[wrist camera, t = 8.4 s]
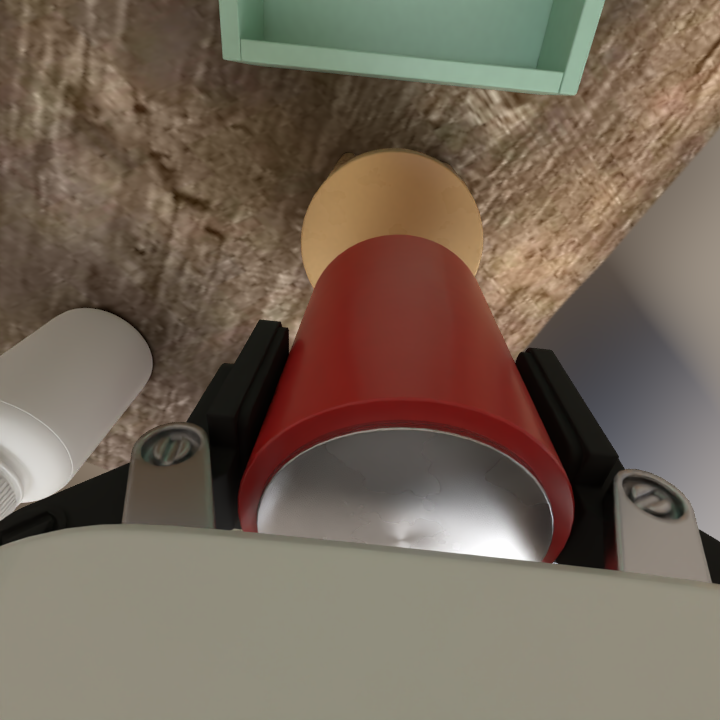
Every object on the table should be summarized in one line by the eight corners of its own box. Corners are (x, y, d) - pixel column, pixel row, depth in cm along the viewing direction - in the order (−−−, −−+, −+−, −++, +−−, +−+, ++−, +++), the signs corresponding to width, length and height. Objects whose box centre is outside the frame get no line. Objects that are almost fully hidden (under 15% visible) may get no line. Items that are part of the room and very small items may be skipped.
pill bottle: (130, 406, 37) (-5, 573, 24) (38, 351, 34) (-167, 506, 21) (175, 349, 33) (45, 508, 21) (76, 283, 31) (-142, 419, 18)
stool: (317, 276, 29) (299, 322, 24) (322, 128, 25) (301, 140, 19) (446, 289, 29) (461, 339, 24) (477, 144, 25) (505, 161, 19)
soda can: (307, 381, 16) (243, 611, 9) (311, 224, 13) (217, 386, 6) (462, 397, 16) (520, 640, 9) (503, 244, 13) (644, 430, 6)
